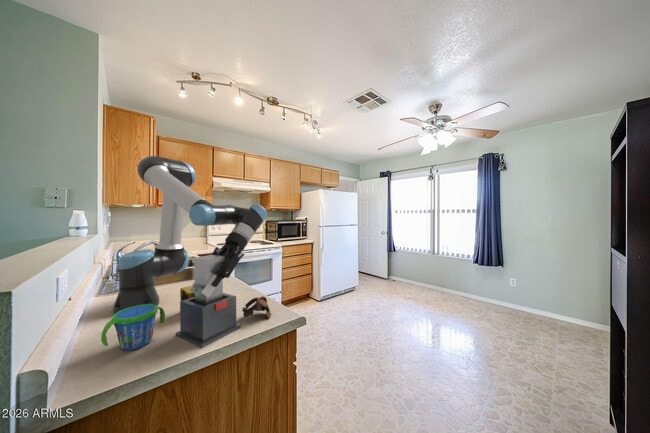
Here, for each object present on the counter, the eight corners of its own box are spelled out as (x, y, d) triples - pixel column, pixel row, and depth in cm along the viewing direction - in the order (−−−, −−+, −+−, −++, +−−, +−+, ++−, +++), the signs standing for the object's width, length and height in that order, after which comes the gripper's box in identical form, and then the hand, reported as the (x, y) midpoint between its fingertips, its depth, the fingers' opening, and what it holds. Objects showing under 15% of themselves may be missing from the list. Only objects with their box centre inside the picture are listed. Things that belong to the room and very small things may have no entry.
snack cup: (108, 364, 61) (108, 325, 61) (95, 352, 66) (94, 316, 66) (173, 337, 74) (173, 305, 74) (157, 329, 79) (157, 299, 79)
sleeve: (175, 335, 75) (175, 301, 75) (214, 318, 87) (214, 289, 87) (201, 348, 68) (201, 310, 68) (240, 327, 80) (240, 295, 80)
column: (192, 330, 76) (191, 258, 76) (212, 321, 82) (211, 254, 82) (205, 335, 73) (204, 260, 72) (225, 325, 79) (224, 256, 79)
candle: (216, 312, 93) (216, 287, 93) (188, 320, 86) (188, 293, 86) (206, 305, 100) (206, 282, 100) (180, 312, 93) (179, 287, 93)
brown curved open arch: (269, 324, 84) (257, 306, 82) (247, 333, 85) (235, 316, 84) (277, 303, 96) (266, 287, 94) (258, 311, 97) (247, 296, 95)
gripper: (263, 245, 86) (225, 304, 72) (228, 242, 95) (189, 294, 81) (252, 231, 81) (209, 292, 67) (217, 230, 91) (173, 283, 77)
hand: (198, 293), depth 74 cm, fingers closed on column, 6 cm apart
